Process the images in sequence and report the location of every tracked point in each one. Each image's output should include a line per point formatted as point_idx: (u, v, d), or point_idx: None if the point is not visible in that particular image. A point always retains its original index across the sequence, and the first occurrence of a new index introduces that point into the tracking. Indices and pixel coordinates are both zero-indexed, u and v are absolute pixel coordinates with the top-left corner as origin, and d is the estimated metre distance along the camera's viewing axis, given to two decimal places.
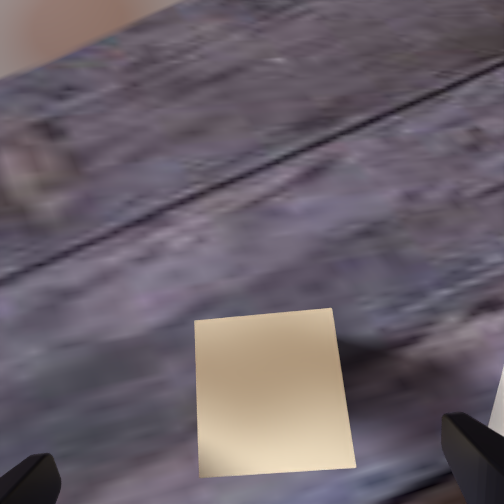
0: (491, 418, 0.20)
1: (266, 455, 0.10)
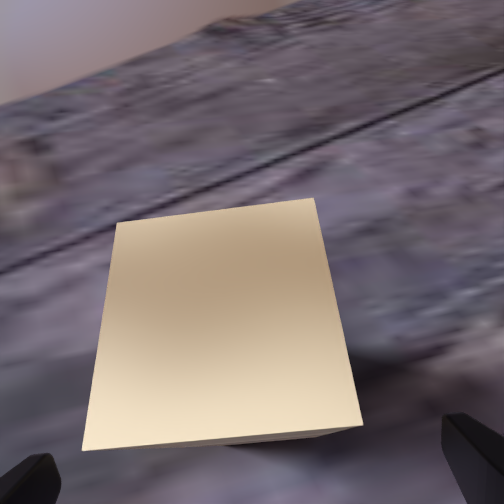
0: None
1: (203, 408, 0.05)
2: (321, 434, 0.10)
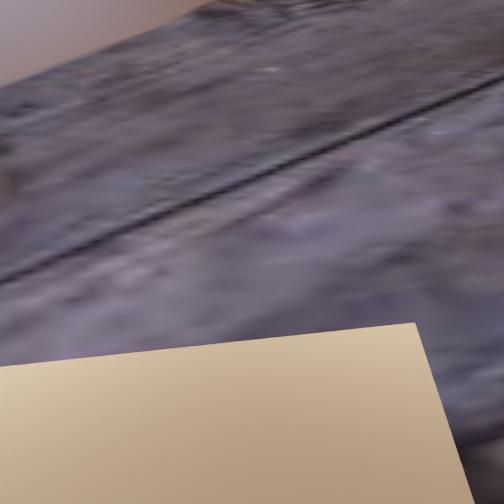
0: None
1: None
2: None
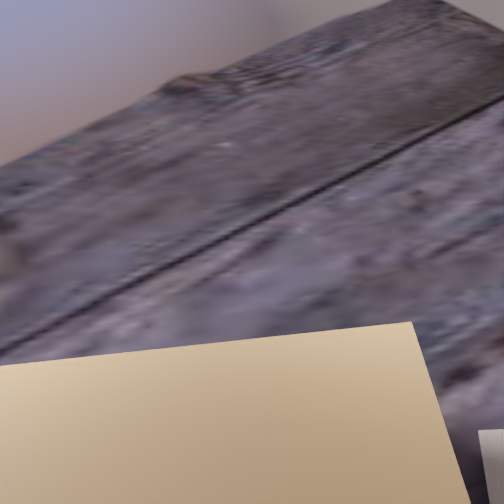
0: None
1: None
2: None
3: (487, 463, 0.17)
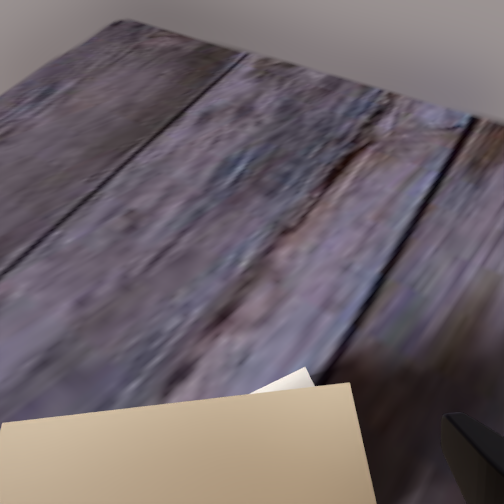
0: None
1: None
2: None
3: None
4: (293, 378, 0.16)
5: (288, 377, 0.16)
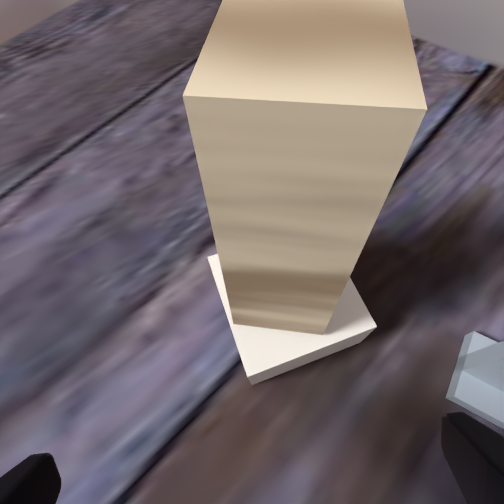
0: None
1: (289, 87, 0.06)
2: (347, 267, 0.11)
3: None
4: None
5: None
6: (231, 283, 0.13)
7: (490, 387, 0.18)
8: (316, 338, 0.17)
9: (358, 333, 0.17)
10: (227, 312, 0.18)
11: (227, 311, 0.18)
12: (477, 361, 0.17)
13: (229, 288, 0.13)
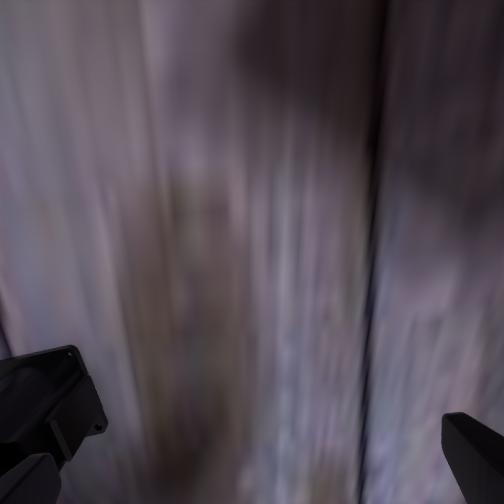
0: None
1: None
2: None
3: None
4: None
5: None
6: None
7: None
8: None
9: None
10: None
11: None
12: None
13: None
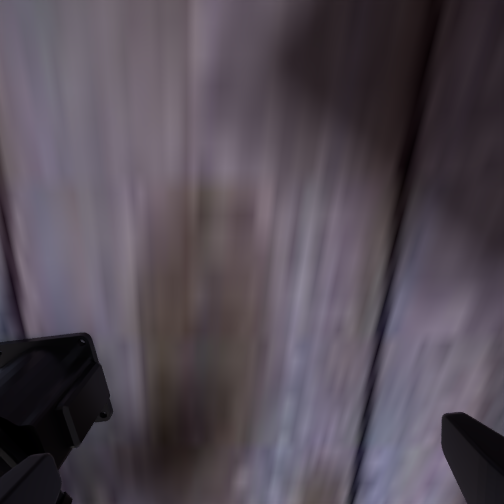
0: None
1: None
2: None
3: None
4: None
5: None
6: None
7: None
8: None
9: None
10: None
11: None
12: None
13: None
